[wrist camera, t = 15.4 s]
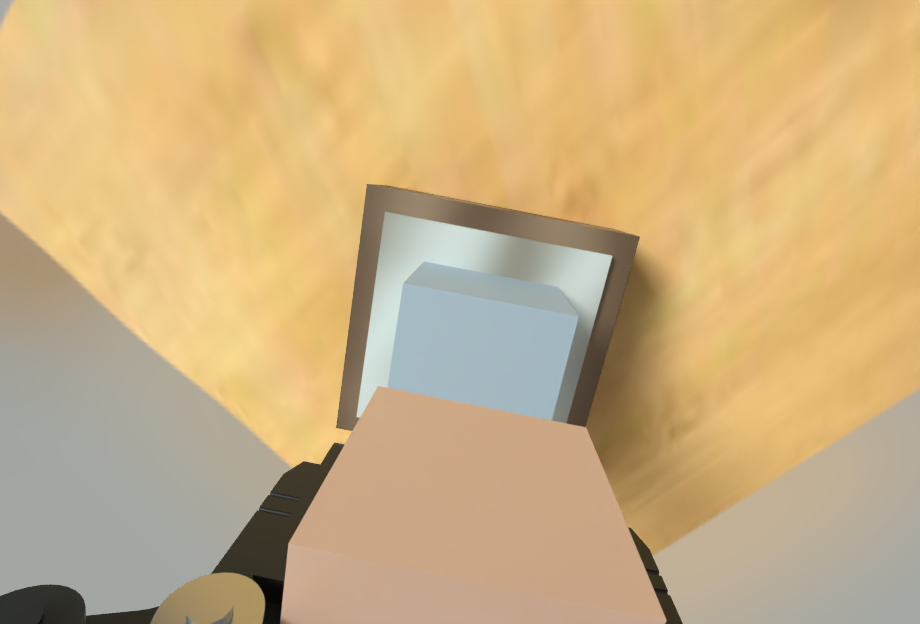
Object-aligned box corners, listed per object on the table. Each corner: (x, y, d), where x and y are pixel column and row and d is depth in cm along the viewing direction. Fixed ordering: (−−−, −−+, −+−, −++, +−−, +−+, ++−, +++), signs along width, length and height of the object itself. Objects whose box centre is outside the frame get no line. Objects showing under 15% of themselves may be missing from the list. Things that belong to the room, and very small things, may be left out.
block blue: (557, 286, 20) (578, 316, 15) (527, 408, 22) (538, 470, 17) (424, 261, 20) (403, 282, 15) (404, 384, 22) (379, 438, 17)
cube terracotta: (586, 427, 10) (666, 619, 5) (537, 594, 11) (570, 864, 6) (378, 386, 10) (287, 544, 5) (352, 556, 11) (261, 799, 7)
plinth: (615, 229, 23) (642, 237, 19) (559, 434, 27) (572, 478, 22) (387, 185, 24) (365, 184, 19) (358, 393, 27) (334, 430, 23)
